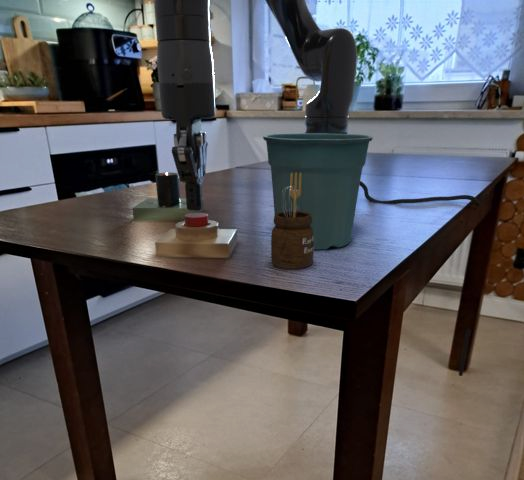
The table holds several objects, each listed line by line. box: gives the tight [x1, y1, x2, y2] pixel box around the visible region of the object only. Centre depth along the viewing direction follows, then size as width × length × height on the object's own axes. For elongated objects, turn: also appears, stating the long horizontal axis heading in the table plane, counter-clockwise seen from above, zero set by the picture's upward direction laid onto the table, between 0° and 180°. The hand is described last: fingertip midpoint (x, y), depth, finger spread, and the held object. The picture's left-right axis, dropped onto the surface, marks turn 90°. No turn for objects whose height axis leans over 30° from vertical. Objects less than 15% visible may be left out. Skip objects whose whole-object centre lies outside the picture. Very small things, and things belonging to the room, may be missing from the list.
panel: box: [131, 197, 205, 222], centre depth 104 cm, size 12×10×3 cm
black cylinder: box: [154, 171, 181, 205], centre depth 102 cm, size 4×4×6 cm
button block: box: [154, 219, 238, 259], centre depth 80 cm, size 11×9×4 cm
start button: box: [184, 212, 209, 227], centre depth 79 cm, size 4×4×2 cm
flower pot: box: [262, 132, 374, 250], centre depth 81 cm, size 16×16×16 cm
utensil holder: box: [270, 173, 315, 271], centre depth 71 cm, size 6×6×12 cm
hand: (195, 209), depth 78 cm, fingers closed
